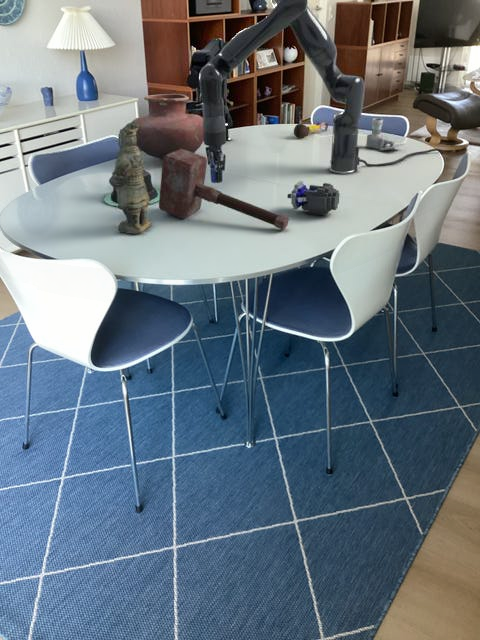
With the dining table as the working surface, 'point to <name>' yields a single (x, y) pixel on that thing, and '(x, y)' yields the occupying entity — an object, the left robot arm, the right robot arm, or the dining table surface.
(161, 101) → the clay pot
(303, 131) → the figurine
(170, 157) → the sledgehammer
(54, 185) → the dining table surface
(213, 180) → the canister
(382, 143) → the grey boot
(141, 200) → the statue
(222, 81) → the left robot arm
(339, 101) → the right robot arm
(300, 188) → the toy
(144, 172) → the chocolate cake
